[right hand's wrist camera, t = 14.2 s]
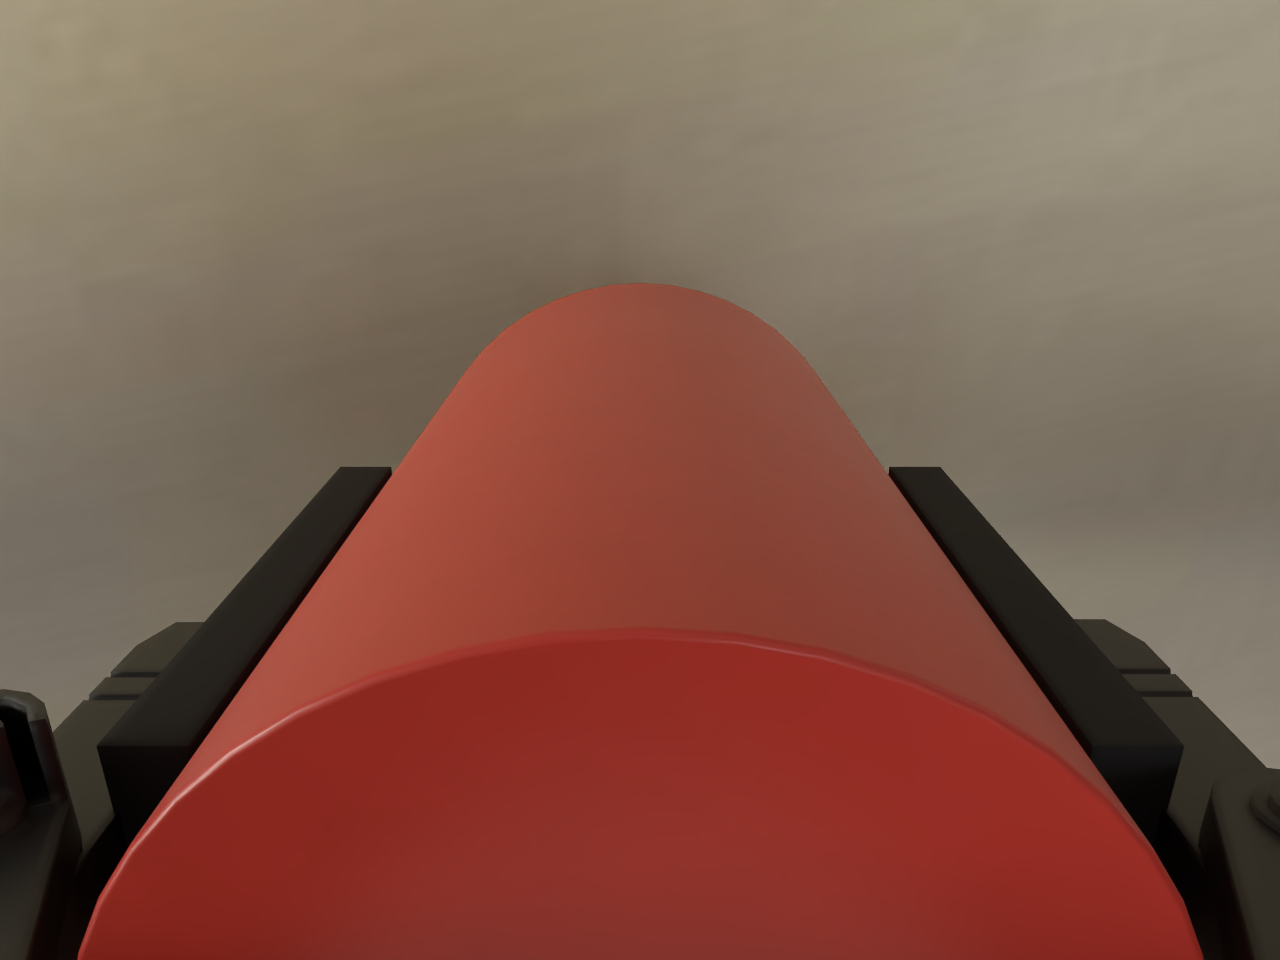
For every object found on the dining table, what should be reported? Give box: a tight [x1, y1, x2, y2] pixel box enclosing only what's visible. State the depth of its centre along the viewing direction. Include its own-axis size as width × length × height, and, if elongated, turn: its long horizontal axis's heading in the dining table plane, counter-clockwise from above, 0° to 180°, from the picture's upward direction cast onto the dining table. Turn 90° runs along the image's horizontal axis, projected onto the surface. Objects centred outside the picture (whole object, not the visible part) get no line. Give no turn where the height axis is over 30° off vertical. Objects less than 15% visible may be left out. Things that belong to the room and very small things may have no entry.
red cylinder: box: [77, 283, 1204, 960], centre depth 11 cm, size 7×7×11 cm
